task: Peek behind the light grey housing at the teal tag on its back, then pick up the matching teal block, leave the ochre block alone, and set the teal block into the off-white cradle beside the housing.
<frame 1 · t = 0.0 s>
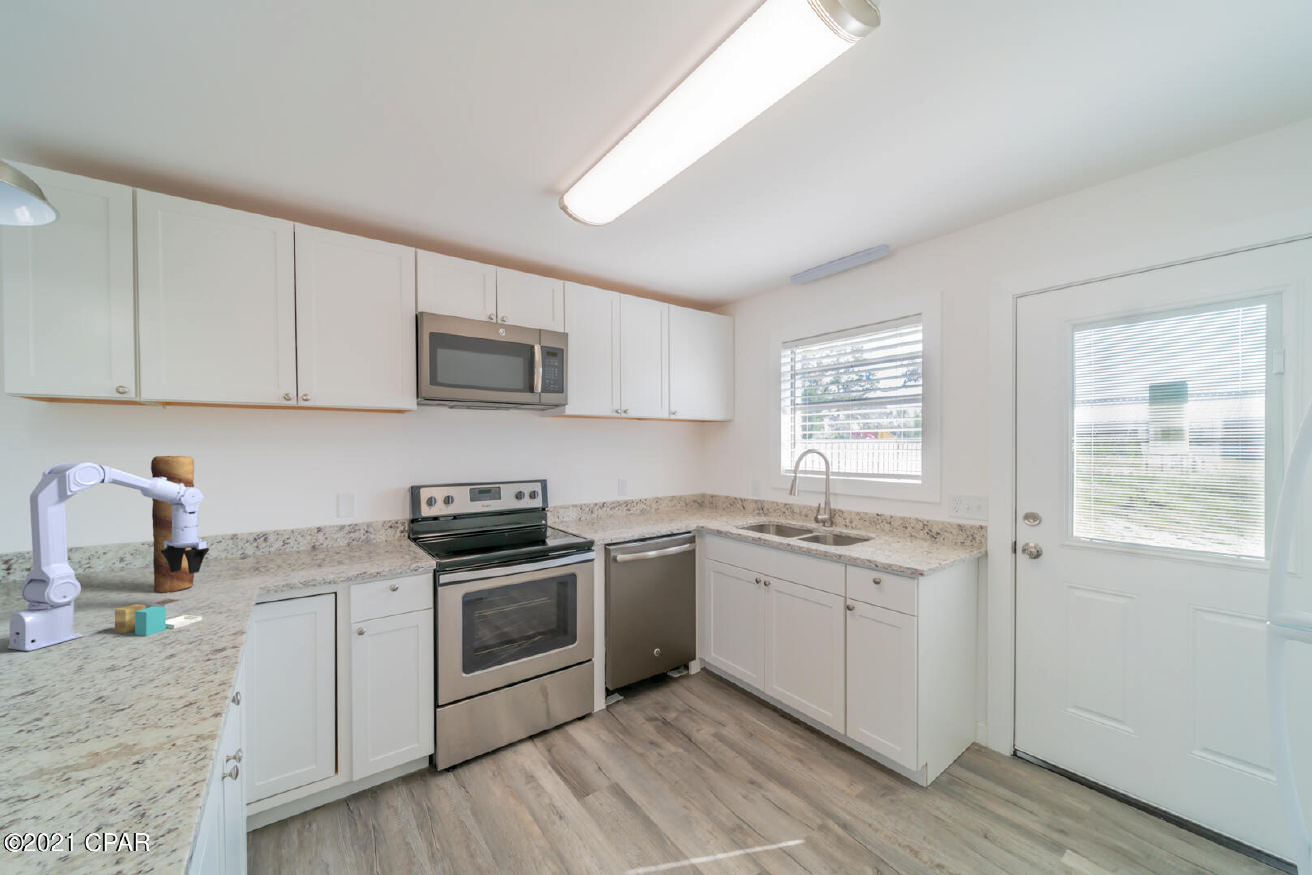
hand: (184, 571, 148), 10 cm above the countertop, tool pointing down, fingers open, 7 cm apart
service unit: (166, 619, 136), on the countertop
brown striped cylinder: (172, 589, 166), on the countertop
teal block: (150, 632, 127), on the countertop
cradle: (179, 623, 133), on the countertop
ochre block: (130, 630, 128), on the countertop
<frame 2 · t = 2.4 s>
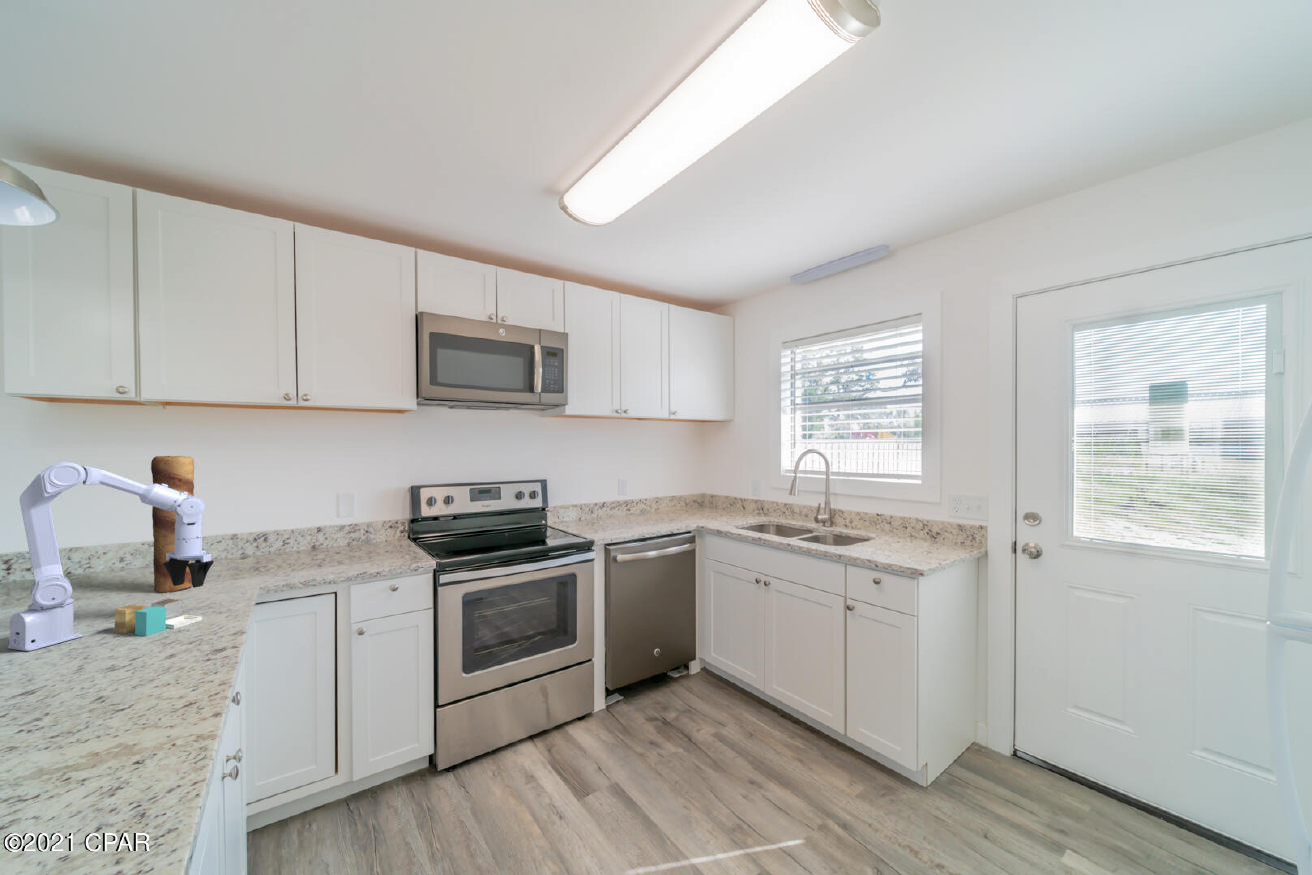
hand: (188, 585, 141), 8 cm above the countertop, tool pointing down, fingers open, 7 cm apart
nothing on the countertop moved.
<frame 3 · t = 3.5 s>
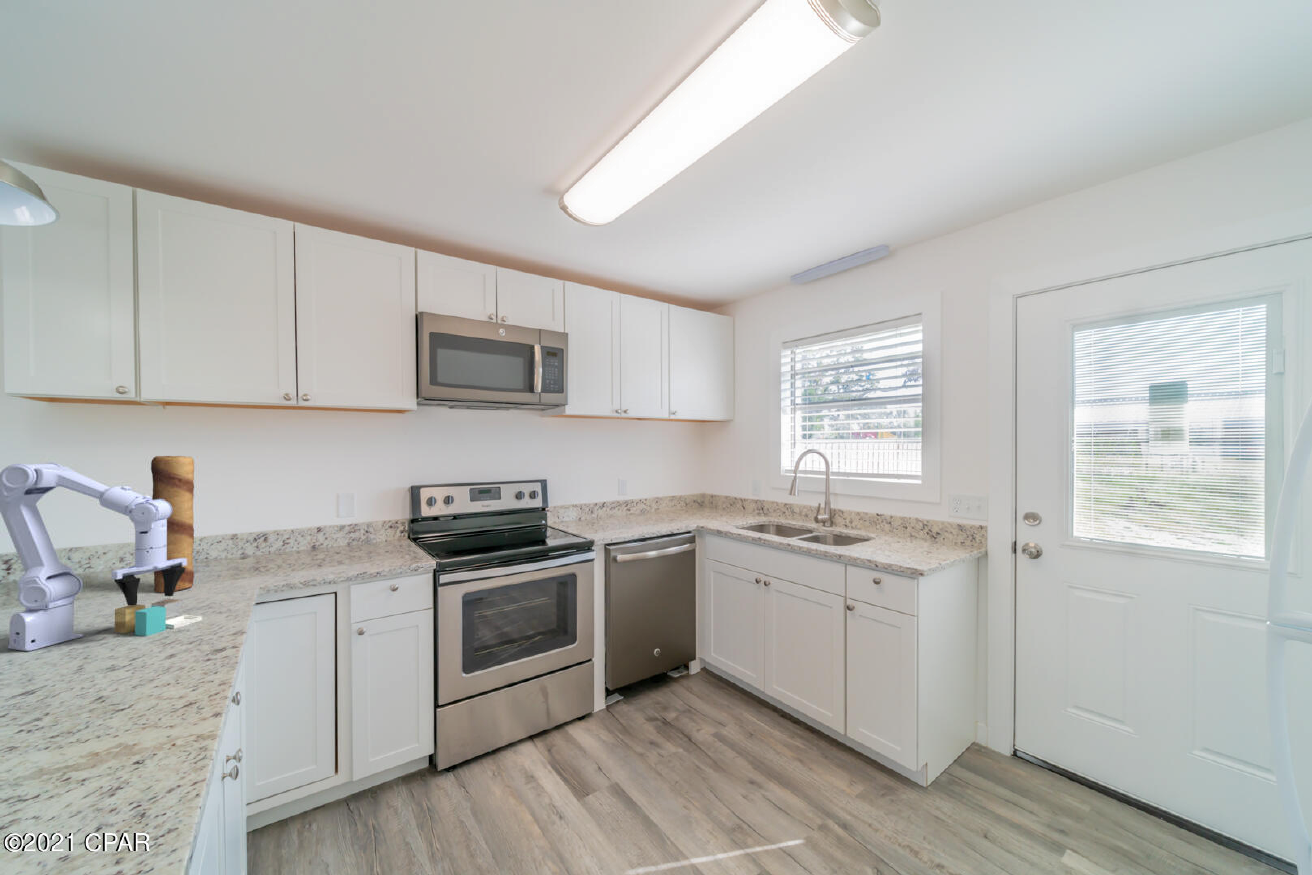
hand: (151, 600, 127), 8 cm above the countertop, tool pointing down, fingers open, 7 cm apart
nothing on the countertop moved.
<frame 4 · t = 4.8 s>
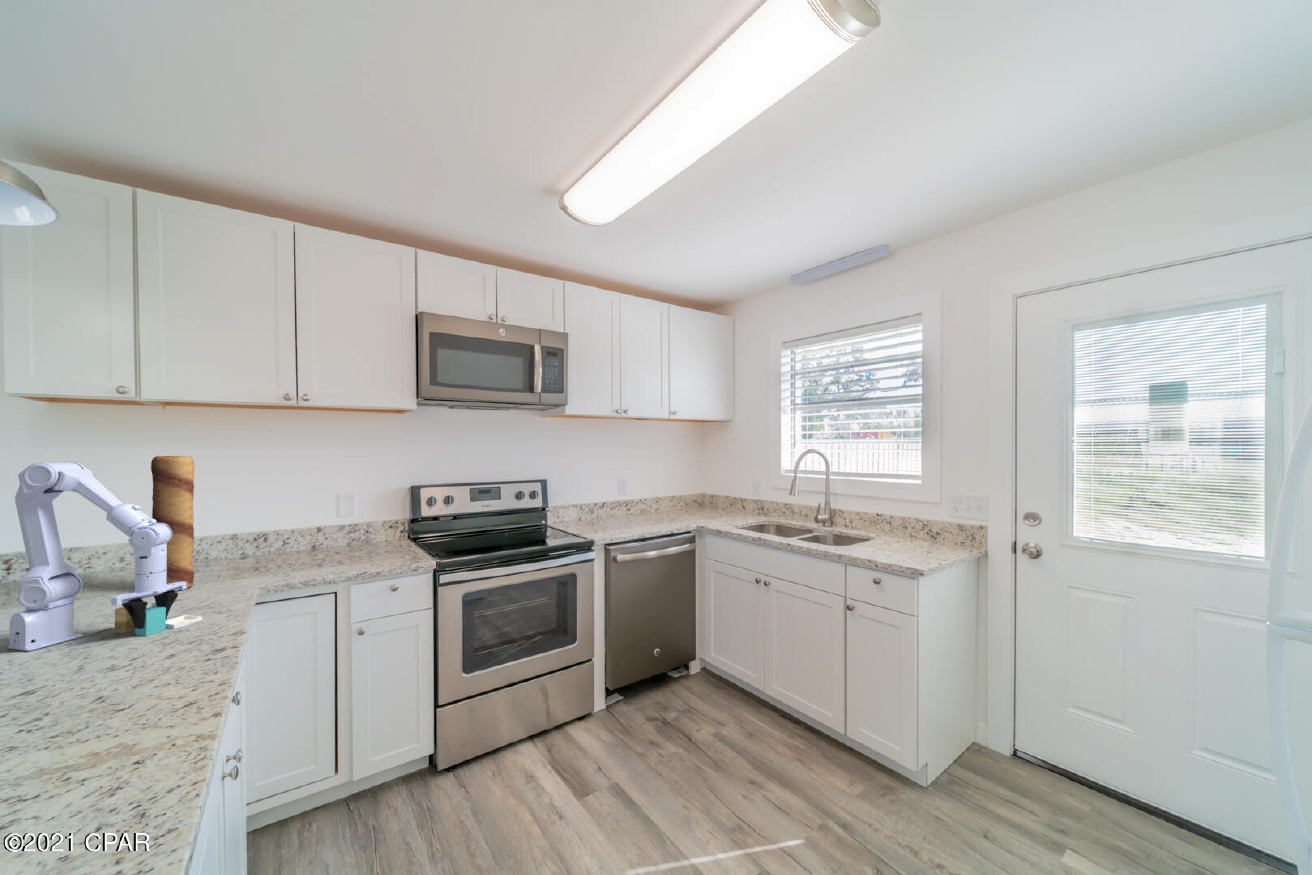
hand: (150, 624, 127), 2 cm above the countertop, tool pointing down, fingers closed on teal block, 4 cm apart
teal block: (150, 632, 127), on the countertop, touching gripper
everything else where it was.
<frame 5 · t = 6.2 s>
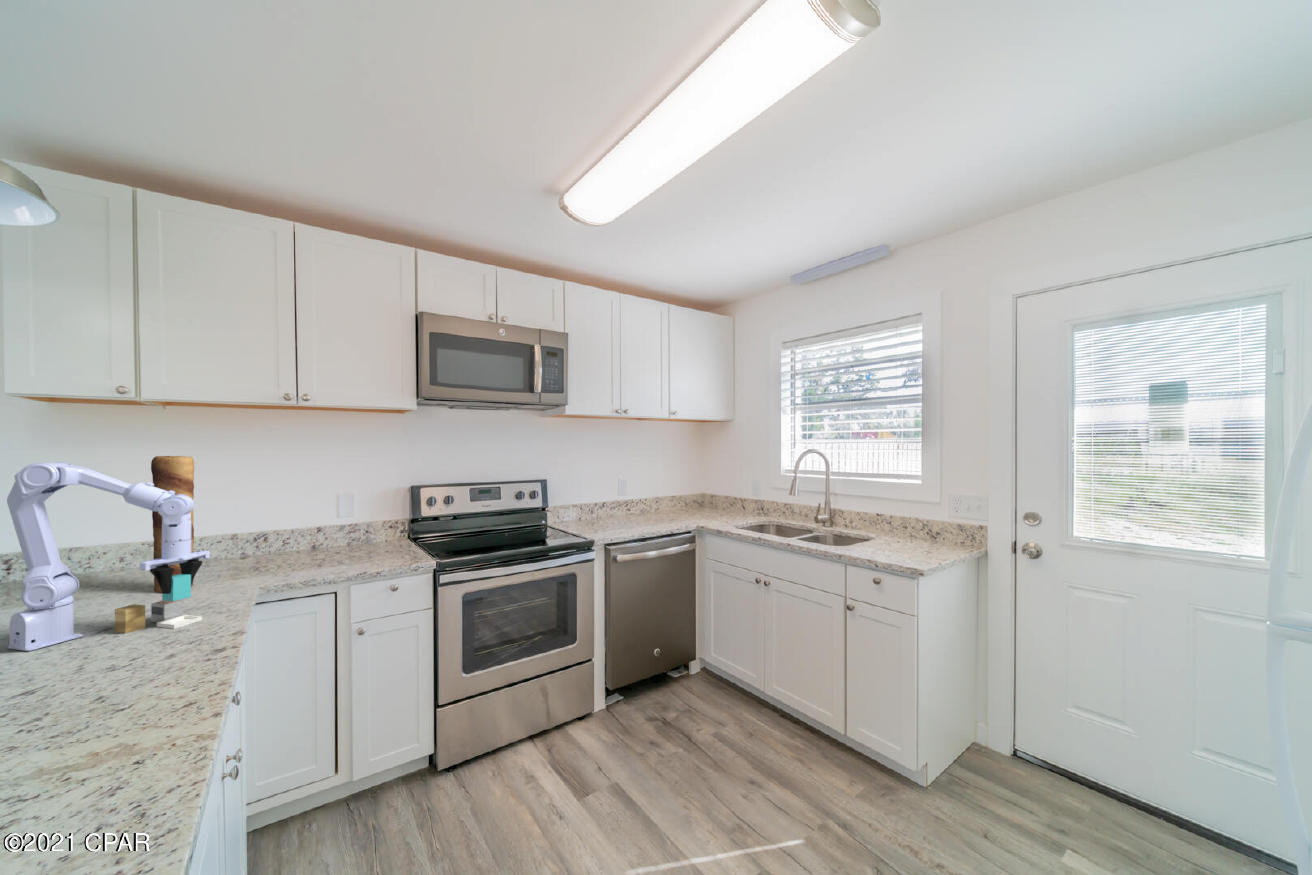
hand: (176, 590, 132), 9 cm above the countertop, tool pointing down, fingers closed on teal block, 4 cm apart
teal block: (176, 598, 132), point 7 cm above the countertop, touching gripper
everything else where it was.
when the fingers open (4 cm above the countertop, at t = 7.7 s): teal block drops 1 cm, resting on cradle.
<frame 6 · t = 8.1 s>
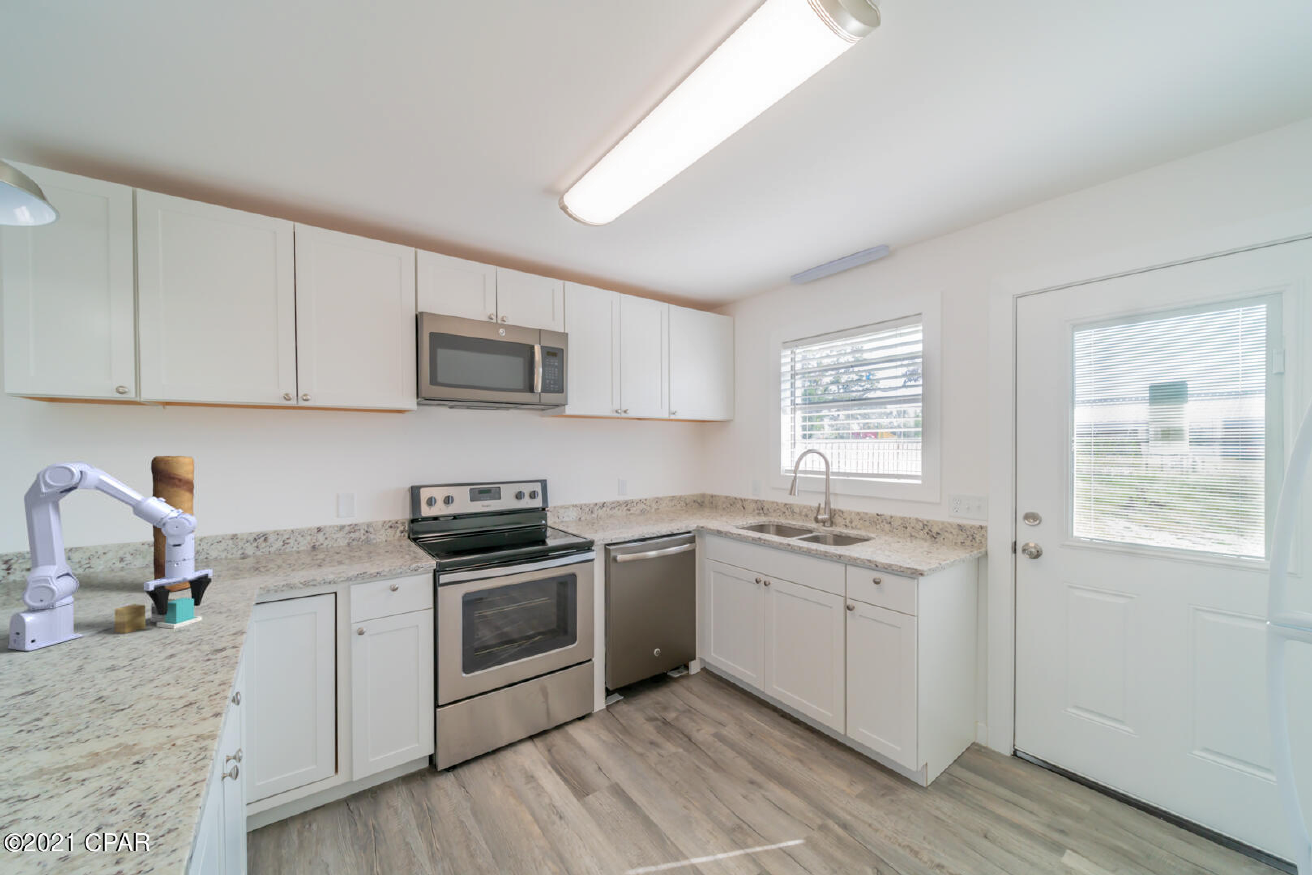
hand: (179, 609, 133), 4 cm above the countertop, tool pointing down, fingers open, 7 cm apart
teal block: (179, 622, 133), resting on cradle
everything else where it was.
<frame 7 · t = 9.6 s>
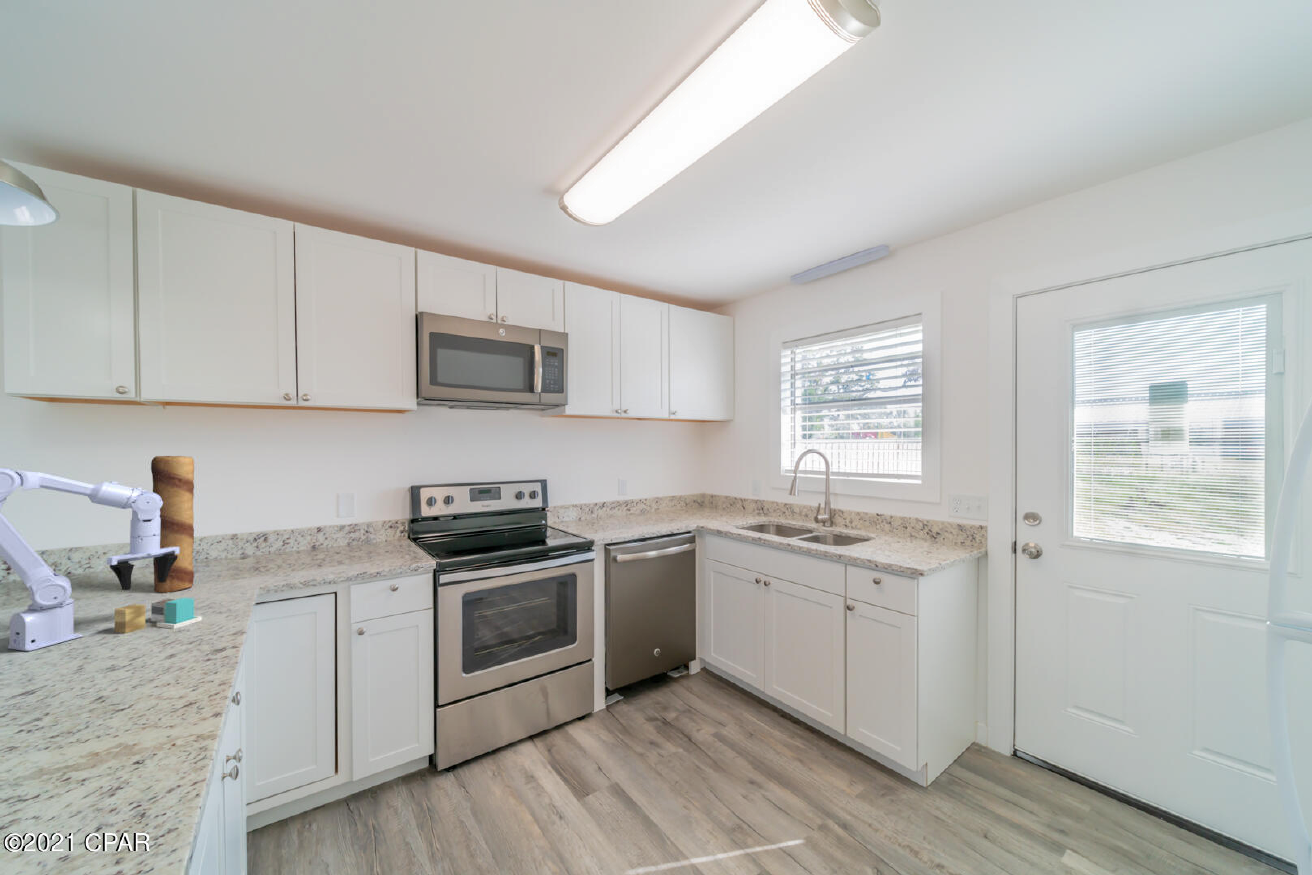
hand: (144, 585, 134), 10 cm above the countertop, tool pointing down, fingers open, 7 cm apart
nothing on the countertop moved.
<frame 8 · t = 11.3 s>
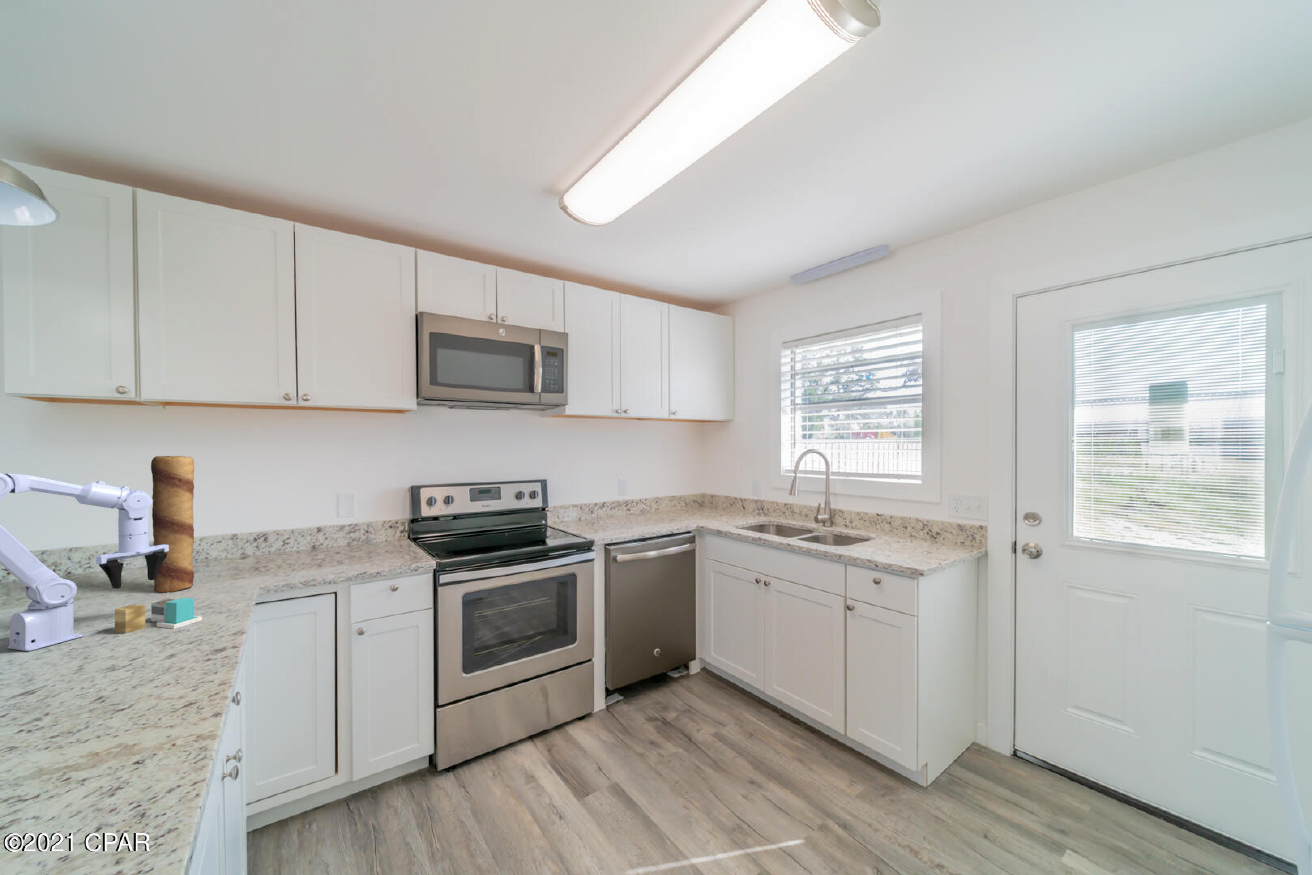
hand: (134, 583, 135), 10 cm above the countertop, tool pointing down, fingers open, 7 cm apart
nothing on the countertop moved.
at the end: teal block 0.1 cm off-centre on the cradle, point 0.2 cm above the cradle's base; teal block tilted 0°; ochre block moved 0.1 cm from its start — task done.
